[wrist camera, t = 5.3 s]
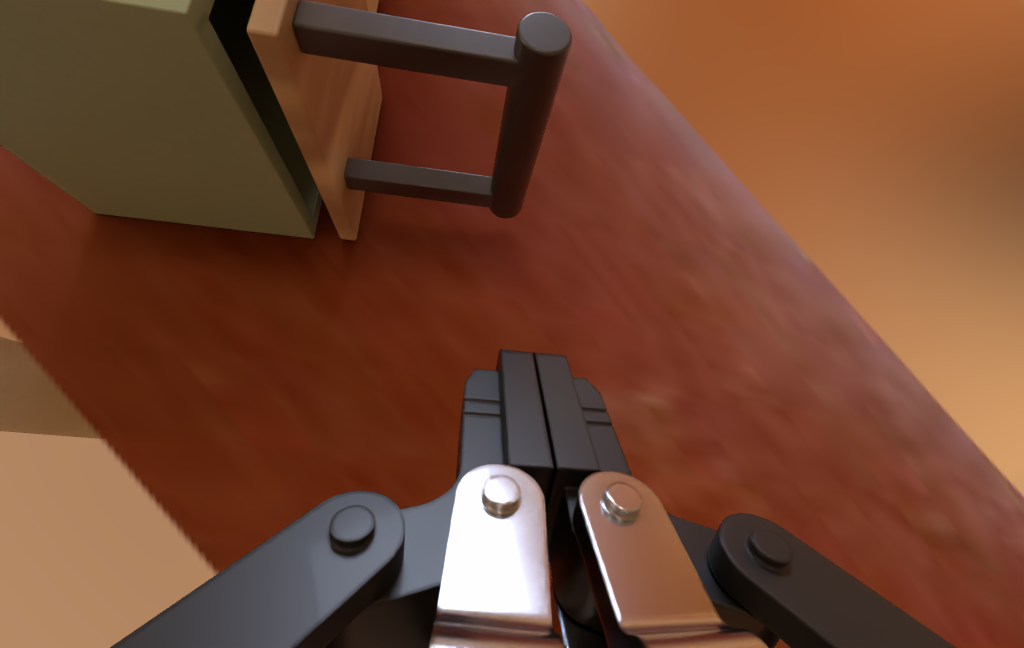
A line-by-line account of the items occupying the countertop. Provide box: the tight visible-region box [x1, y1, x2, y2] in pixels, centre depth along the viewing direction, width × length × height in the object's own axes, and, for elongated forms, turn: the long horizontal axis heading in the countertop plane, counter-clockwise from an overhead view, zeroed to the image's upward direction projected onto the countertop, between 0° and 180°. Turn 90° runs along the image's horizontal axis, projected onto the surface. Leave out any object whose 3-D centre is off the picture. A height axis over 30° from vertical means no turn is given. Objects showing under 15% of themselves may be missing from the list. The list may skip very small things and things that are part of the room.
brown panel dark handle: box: [247, 0, 572, 240], centre depth 19 cm, size 9×9×12 cm
